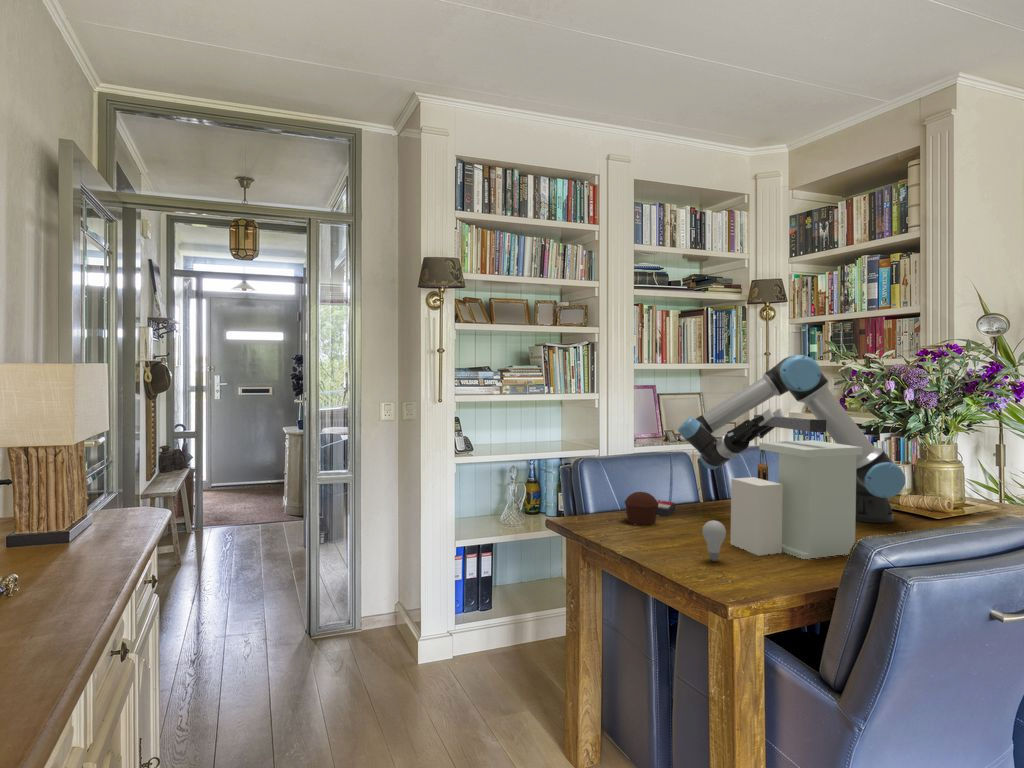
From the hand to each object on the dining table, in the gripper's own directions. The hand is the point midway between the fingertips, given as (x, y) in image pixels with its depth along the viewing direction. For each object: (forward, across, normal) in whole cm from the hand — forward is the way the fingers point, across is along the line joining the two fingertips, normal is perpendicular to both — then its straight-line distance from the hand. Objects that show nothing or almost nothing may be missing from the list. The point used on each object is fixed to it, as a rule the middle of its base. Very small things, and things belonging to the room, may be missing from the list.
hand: (776, 412), depth 194 cm
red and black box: (-58, +17, -12) cm, 61 cm away
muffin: (-46, +28, -18) cm, 57 cm away
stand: (-10, -2, -39) cm, 40 cm away
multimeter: (-64, -43, -8) cm, 78 cm away
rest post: (-13, +13, -37) cm, 41 cm away
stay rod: (+2, 0, -6) cm, 6 cm away
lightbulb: (-7, +32, -41) cm, 52 cm away
